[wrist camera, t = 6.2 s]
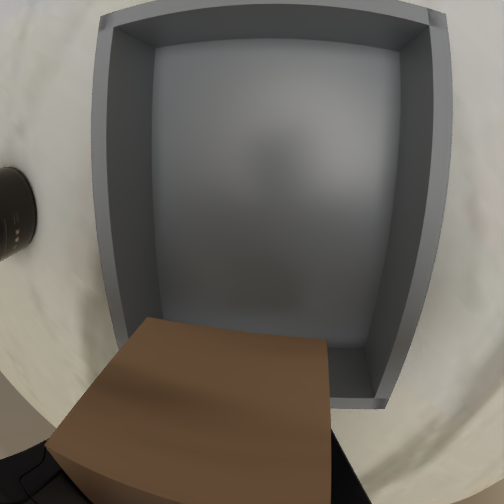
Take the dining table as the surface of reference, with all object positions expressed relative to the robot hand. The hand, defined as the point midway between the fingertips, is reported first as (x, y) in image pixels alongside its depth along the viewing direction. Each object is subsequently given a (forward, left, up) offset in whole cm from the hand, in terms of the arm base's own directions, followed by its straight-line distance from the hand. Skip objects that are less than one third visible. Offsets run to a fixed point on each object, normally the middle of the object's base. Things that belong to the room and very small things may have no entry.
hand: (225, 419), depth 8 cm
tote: (+5, 0, -10) cm, 11 cm away
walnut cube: (0, 0, -1) cm, 1 cm away
